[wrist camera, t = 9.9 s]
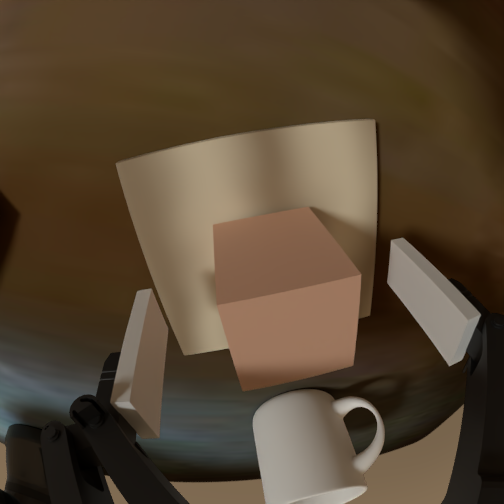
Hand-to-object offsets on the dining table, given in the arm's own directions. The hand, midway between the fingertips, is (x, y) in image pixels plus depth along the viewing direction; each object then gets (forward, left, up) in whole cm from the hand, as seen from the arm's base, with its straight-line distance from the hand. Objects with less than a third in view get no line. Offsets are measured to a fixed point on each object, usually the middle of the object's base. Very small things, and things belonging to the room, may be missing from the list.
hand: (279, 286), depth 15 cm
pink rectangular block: (0, 0, -3) cm, 3 cm away
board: (0, 0, -4) cm, 4 cm away
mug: (+2, -18, -4) cm, 19 cm away
